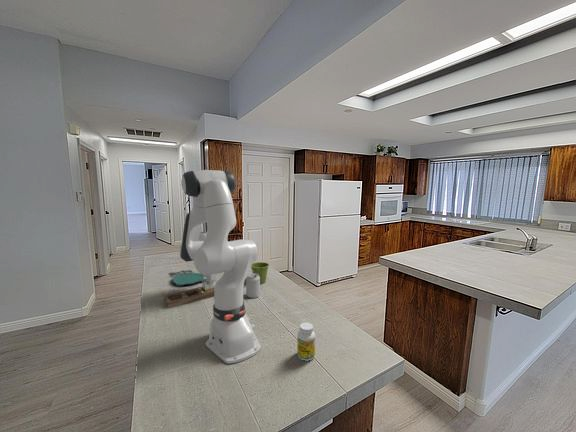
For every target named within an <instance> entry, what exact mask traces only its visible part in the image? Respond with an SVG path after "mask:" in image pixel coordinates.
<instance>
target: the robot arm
mask: <svg viewBox="0 0 576 432" xmlns="http://www.w3.org/2000/svg"><path fill="white" fill-rule="evenodd" d="M181 176H182V178H181V182H180V183H181V184H180V185H181V188H182V190H183V192H184V194H185V195H186V196H188V197H191V198H192V208H191V211H190V212H187V213H186V216H185V218H184V219H185V220H184V225H183V233H182V238H181V239H182V241H181V244H180V247H179V256H180V259H182V260H183V261H185V262H186V263H187V262H193V264H194V267H195V269H196V270H197V272H198V273H201V274H202V276H203V279H208V280H209V287H210V288H211V287H213V285H214V282H215V285H214V286H215V287H214V297H213V299H214V302H213V306H212V307H213V308H212V312H213V313H212V315H213V317H212V319H211V321H210V323H209V334H208V335H209V337H208V339H207V340H206V341H205V347H206V348H207V349H209V350H210V351H211V352H212V353H213V354H215V355H216V356H217V357H218V358H219V359H220V360H222V361H223V362H224V363H225V364H235V363H239V362H240V363H241V362H243V361H245V360H248V359H249V358H252V357H253V356H255V355H256V354H258V353H259V352H260V351H261V349H262V346H261V343H260V342H259V340H258V338H257V336H256V335H255V332H254V331H256V325H255V324H253V323H252V324H251V322H250V320H251V319H250V317H249V316H248V315H247V313H246V311H247V310H246V305H245V301H244V286H245V285H244V284H245V282H246V281H245V280H246V278H247V275H248V272H249V270H250V269H251V265H252V264H253V263H256V262H255V261H256V260H257V258H258V257H259V250H258V247H257V246H258V245H257V244H256V243H255V242H254V241H253V240H251V239H236V240H235V239H234V240H230V241H228V236H229V233H231V231H232V230H233V229H234V228H235V227H236V225H237V217H236V211H235V207H234V206H235V205H234V201H233V197H232V193H233V192H234V191H235V189H236V179H235V175H234V174H233V172H232V171H231V170H224V169H223V170H220V169H219V170H214V169H202V170H201V169H200V170H195V171H194V170H188V171H186V172H184V173H183V174H182V175H181ZM205 223H206V231H201V232H199V234H198V240H192V235H193V230H194V228H196V227H198V226H199V225H202V224H205ZM222 273H223V275H222V276H221V277H220V278H219V279H218V274H222Z"/></svg>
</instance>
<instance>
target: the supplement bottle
mask: <svg viewBox="0 0 576 432" xmlns="http://www.w3.org/2000/svg"><path fill="white" fill-rule="evenodd" d="M296 340H297V345H296V348H297V349H296V350H297V353H296V354H297V357H298V359H300V360H302V361H303V360H305V362H309V360H310V361H312V360H313V359H314V358H315V356H316V333H315V331H314V325H313V324H312V323H310V322H302V323H301V324H299V331H298V332H297V339H296Z"/></svg>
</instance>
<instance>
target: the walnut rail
mask: <svg viewBox="0 0 576 432" xmlns="http://www.w3.org/2000/svg"><path fill="white" fill-rule="evenodd" d="M214 287H215V285H214V284H213V290H210V291H206V292H204V291H203V290H202V286H199V287H194V288H191V289H185V290H181V291H177V292H172V293H168V294H164V295H163V301H164V303H165V304H166V307H167V309H171V308H174V307H179V306H182V305H185V304H191V303H194V302H197V301H198V302H199V301H201V300H202V301H203V300H205V299H209V298H212V297H213V298H214Z"/></svg>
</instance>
